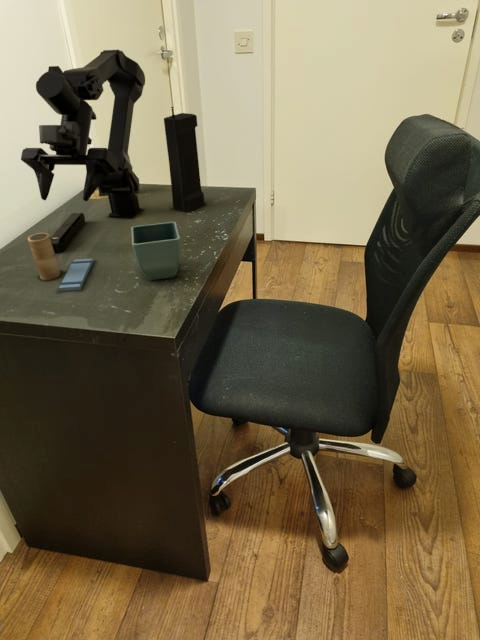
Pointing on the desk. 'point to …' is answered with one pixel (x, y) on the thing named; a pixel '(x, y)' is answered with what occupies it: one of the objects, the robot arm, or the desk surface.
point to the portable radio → (183, 161)
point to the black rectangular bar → (67, 231)
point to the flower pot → (157, 249)
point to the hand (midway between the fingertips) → (64, 200)
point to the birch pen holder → (44, 256)
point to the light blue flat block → (76, 275)
